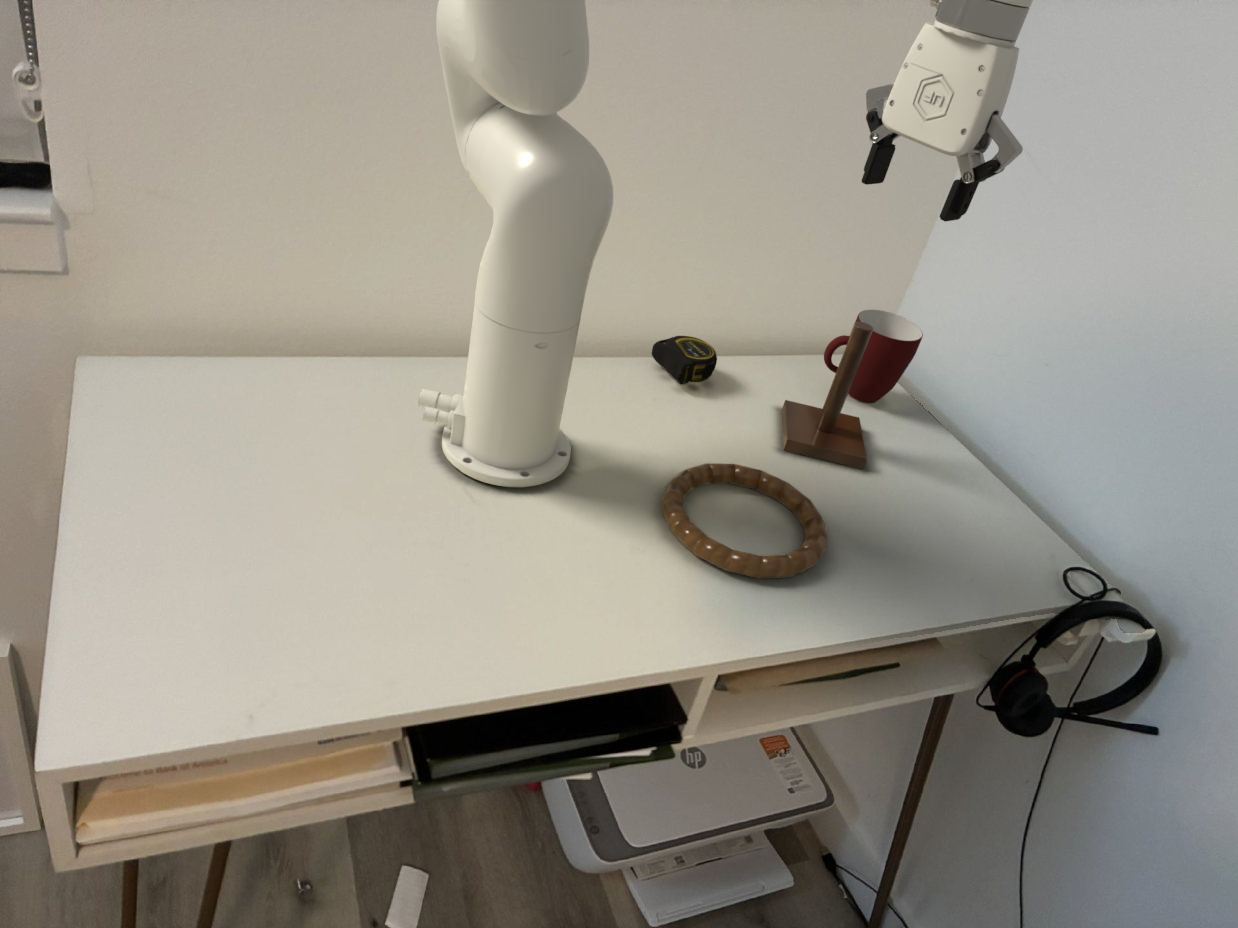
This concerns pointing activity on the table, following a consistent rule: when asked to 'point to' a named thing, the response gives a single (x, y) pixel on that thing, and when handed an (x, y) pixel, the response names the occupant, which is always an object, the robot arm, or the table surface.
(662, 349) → the tape measure
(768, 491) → the ring
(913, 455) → the table surface
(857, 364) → the post
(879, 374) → the mug
